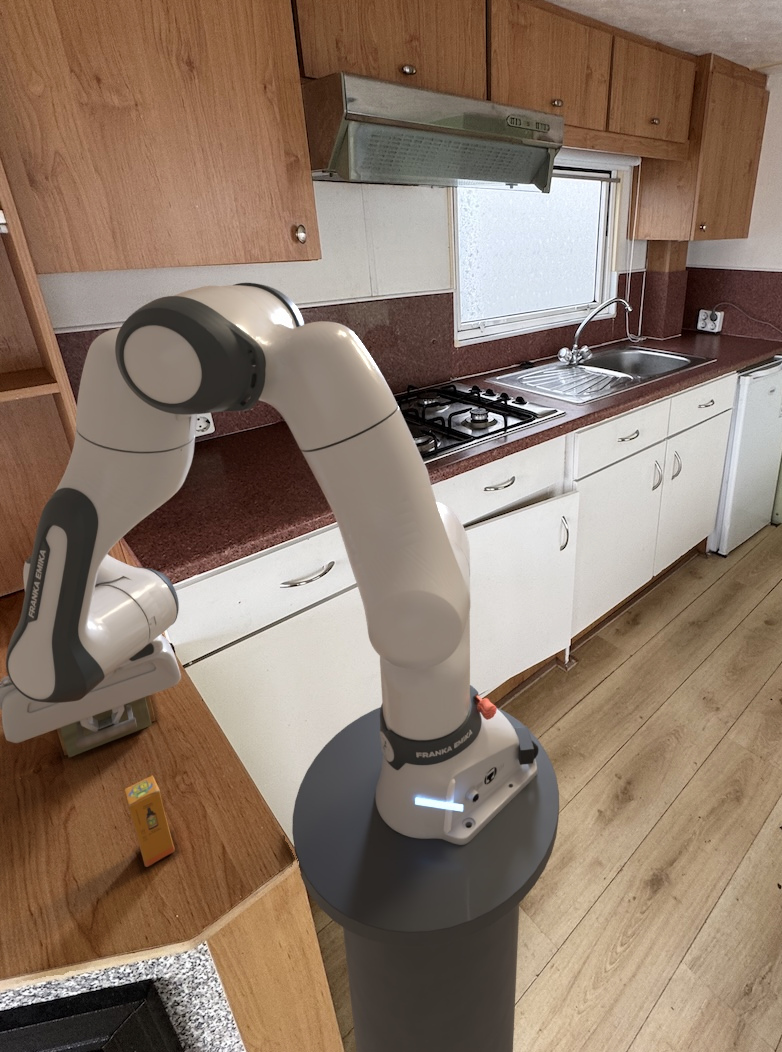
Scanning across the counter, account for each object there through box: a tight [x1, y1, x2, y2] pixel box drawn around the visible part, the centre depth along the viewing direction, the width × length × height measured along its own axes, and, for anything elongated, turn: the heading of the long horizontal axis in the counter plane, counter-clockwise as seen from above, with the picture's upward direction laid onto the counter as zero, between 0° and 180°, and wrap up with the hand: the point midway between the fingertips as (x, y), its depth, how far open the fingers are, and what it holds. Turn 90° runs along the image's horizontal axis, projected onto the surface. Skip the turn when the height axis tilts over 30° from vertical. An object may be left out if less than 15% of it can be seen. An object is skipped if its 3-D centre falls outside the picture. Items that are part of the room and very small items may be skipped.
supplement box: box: [124, 775, 176, 868], centre depth 69 cm, size 3×3×10 cm
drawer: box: [60, 697, 152, 758], centre depth 87 cm, size 18×10×9 cm, turn 37°
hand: (107, 732), depth 82 cm, fingers closed
